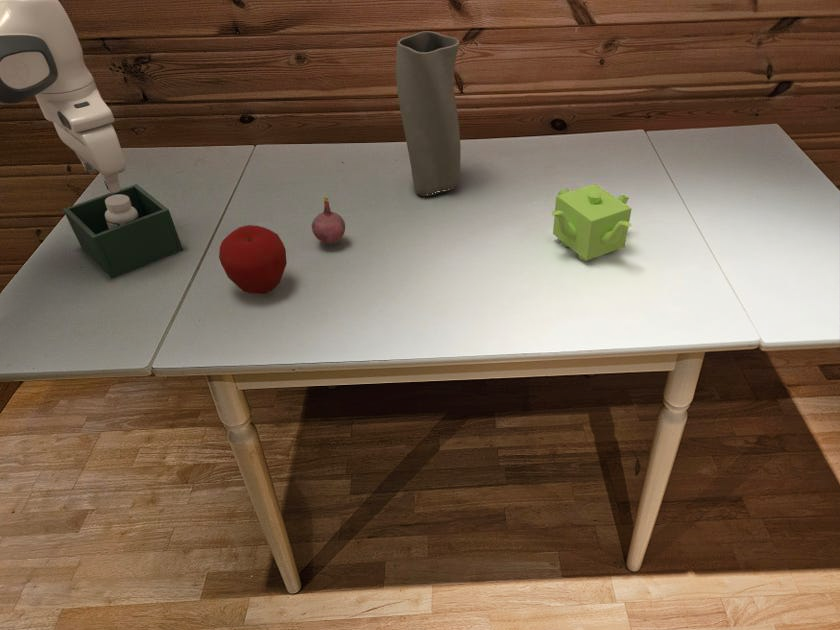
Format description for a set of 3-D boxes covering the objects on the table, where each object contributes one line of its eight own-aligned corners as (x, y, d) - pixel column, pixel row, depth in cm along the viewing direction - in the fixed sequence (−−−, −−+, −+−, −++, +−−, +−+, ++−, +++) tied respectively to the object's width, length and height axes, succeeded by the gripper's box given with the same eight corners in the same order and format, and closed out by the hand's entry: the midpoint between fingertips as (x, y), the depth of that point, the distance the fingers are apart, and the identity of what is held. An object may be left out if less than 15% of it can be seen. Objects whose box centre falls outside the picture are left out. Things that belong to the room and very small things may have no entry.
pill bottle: (144, 237, 126) (131, 190, 120) (148, 251, 123) (135, 204, 116) (113, 242, 124) (98, 194, 117) (116, 256, 120) (101, 208, 114)
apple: (226, 278, 117) (208, 221, 109) (285, 264, 121) (272, 208, 113) (236, 313, 110) (217, 254, 102) (299, 297, 113) (286, 239, 105)
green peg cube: (622, 273, 119) (632, 219, 111) (545, 264, 121) (549, 210, 114) (627, 230, 130) (636, 178, 122) (556, 222, 132) (560, 171, 124)
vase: (423, 207, 136) (414, 56, 116) (395, 184, 144) (382, 38, 123) (472, 192, 141) (472, 44, 121) (443, 170, 149) (438, 27, 128)
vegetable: (351, 249, 125) (344, 202, 118) (319, 256, 123) (310, 208, 116) (343, 233, 129) (336, 187, 122) (312, 240, 127) (303, 193, 120)
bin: (111, 279, 117) (92, 237, 111) (82, 249, 124) (62, 208, 118) (183, 249, 124) (168, 209, 118) (151, 223, 131) (136, 183, 125)
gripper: (27, 89, 109) (62, 167, 118) (74, 126, 98) (109, 208, 108) (66, 80, 112) (98, 156, 122) (116, 114, 102) (146, 195, 111)
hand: (103, 181), depth 115 cm, fingers open, 8 cm apart
